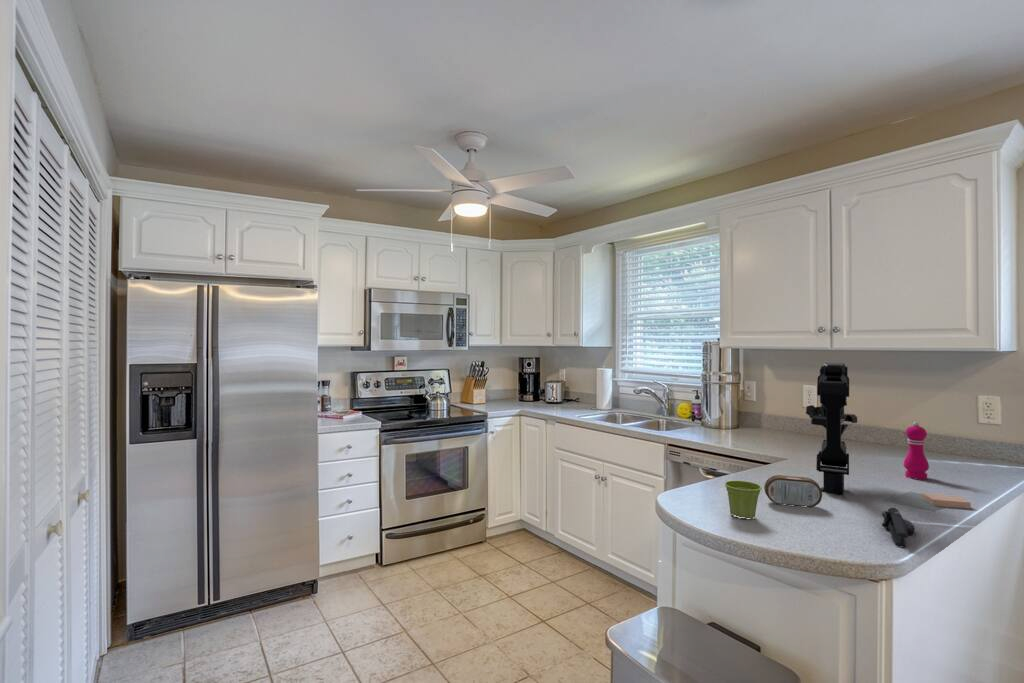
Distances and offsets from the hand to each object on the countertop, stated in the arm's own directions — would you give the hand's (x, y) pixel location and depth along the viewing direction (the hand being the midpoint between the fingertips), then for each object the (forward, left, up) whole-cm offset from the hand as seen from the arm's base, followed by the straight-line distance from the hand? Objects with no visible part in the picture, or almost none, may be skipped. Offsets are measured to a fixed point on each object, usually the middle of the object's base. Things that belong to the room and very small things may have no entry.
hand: (834, 444), depth 181 cm
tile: (-2, -28, -12) cm, 30 cm away
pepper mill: (+33, -11, -13) cm, 37 cm away
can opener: (-40, -36, -14) cm, 56 cm away
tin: (-38, -8, -13) cm, 41 cm away
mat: (-2, -26, -13) cm, 29 cm away
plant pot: (-60, -7, -13) cm, 62 cm away
